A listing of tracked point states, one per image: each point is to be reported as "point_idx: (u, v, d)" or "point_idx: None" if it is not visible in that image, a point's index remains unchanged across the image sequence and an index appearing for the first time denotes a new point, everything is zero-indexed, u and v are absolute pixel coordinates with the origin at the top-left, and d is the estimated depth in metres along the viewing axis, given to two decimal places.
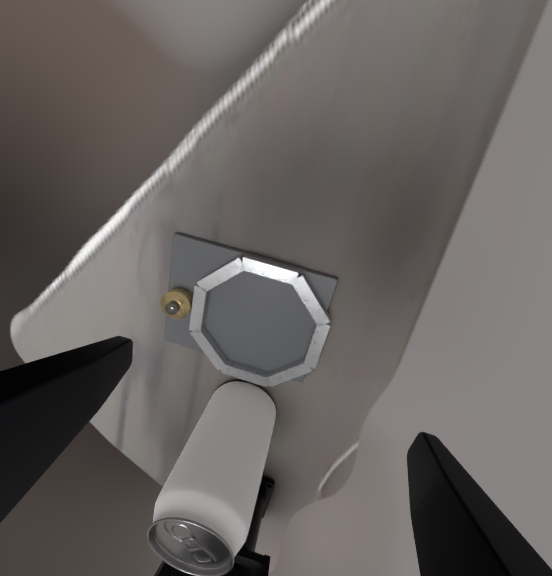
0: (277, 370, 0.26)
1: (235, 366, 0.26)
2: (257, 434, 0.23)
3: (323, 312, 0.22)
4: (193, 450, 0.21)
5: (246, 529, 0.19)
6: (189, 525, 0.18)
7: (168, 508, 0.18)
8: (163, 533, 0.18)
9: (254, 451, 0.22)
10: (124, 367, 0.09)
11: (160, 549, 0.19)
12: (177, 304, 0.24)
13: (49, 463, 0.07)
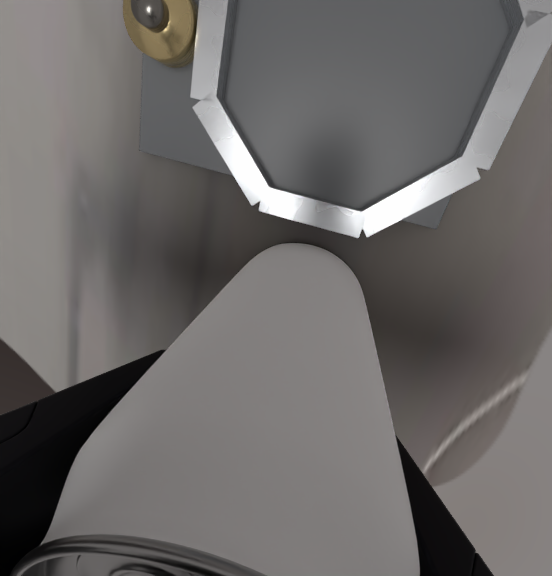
0: (385, 196, 0.12)
1: (290, 193, 0.12)
2: (361, 316, 0.09)
3: None
4: (203, 324, 0.07)
5: None
6: (193, 575, 0.04)
7: (96, 493, 0.04)
8: None
9: (368, 344, 0.08)
10: None
11: None
12: None
13: None
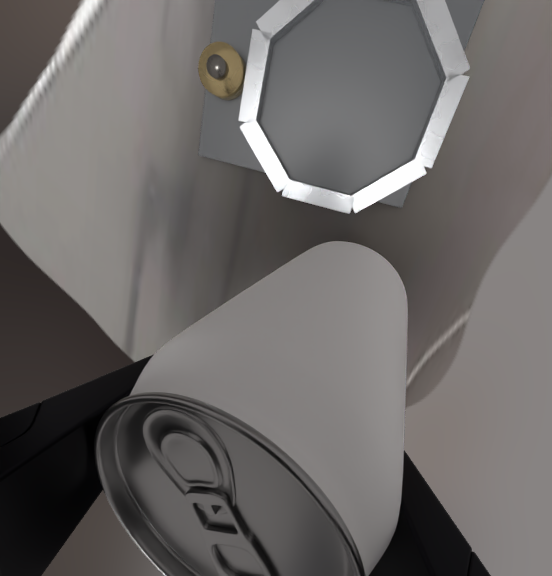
0: (367, 185, 0.17)
1: (303, 183, 0.18)
2: (396, 312, 0.10)
3: (461, 50, 0.14)
4: (254, 288, 0.08)
5: (397, 521, 0.06)
6: (220, 443, 0.05)
7: (164, 375, 0.05)
8: (140, 457, 0.06)
9: (397, 336, 0.09)
10: None
11: (129, 503, 0.07)
12: (225, 61, 0.15)
13: None
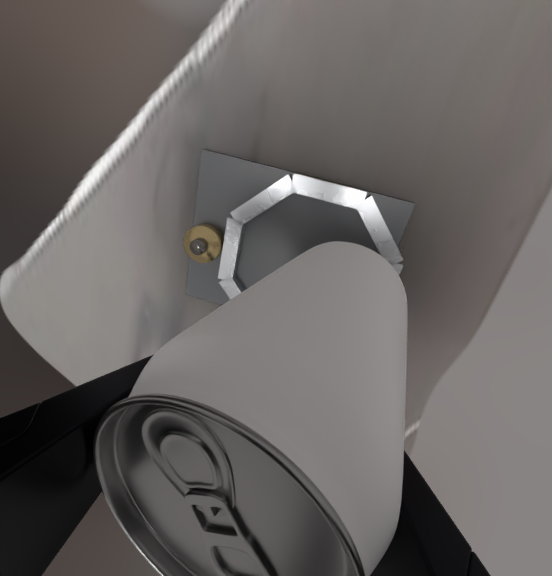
0: None
1: None
2: (396, 313, 0.10)
3: (395, 247, 0.17)
4: (254, 289, 0.08)
5: (397, 522, 0.06)
6: (219, 445, 0.05)
7: (163, 376, 0.05)
8: (139, 458, 0.06)
9: (397, 336, 0.09)
10: None
11: (129, 504, 0.07)
12: (205, 241, 0.19)
13: None
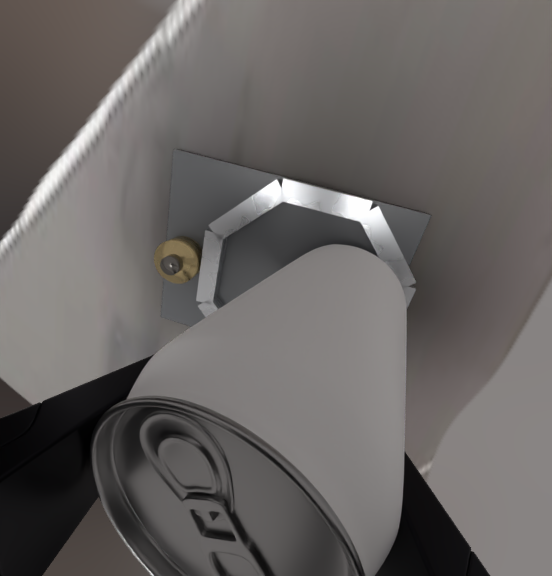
0: None
1: None
2: (396, 316, 0.10)
3: (407, 267, 0.14)
4: (253, 291, 0.08)
5: (398, 527, 0.05)
6: (219, 447, 0.05)
7: (161, 378, 0.05)
8: (136, 462, 0.06)
9: (397, 339, 0.09)
10: None
11: (126, 510, 0.07)
12: (179, 259, 0.16)
13: None
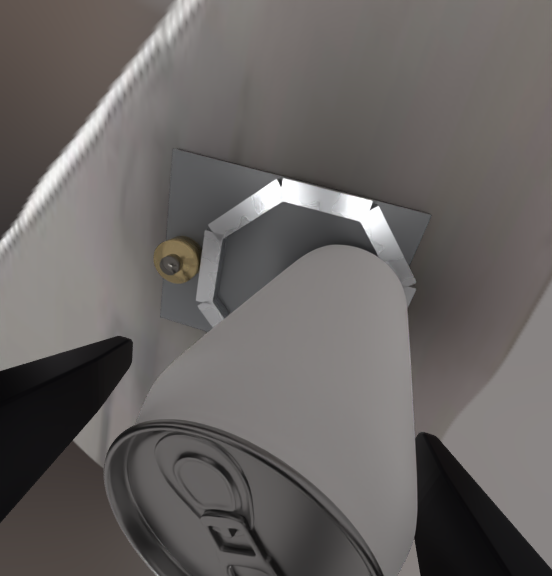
0: None
1: None
2: (400, 319, 0.10)
3: (407, 267, 0.14)
4: (260, 300, 0.08)
5: None
6: (238, 468, 0.05)
7: (177, 399, 0.05)
8: (152, 480, 0.06)
9: (402, 344, 0.09)
10: (124, 367, 0.09)
11: (140, 524, 0.07)
12: (178, 259, 0.16)
13: (49, 463, 0.07)
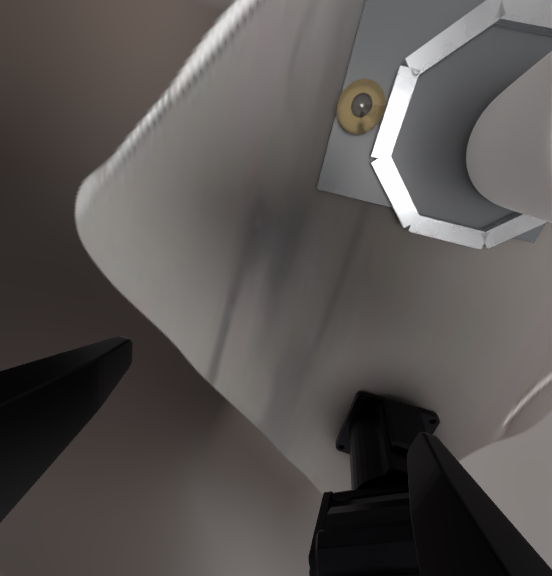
0: (501, 220, 0.17)
1: (433, 219, 0.17)
2: None
3: None
4: None
5: None
6: None
7: None
8: None
9: None
10: (124, 367, 0.09)
11: None
12: None
13: (49, 463, 0.07)
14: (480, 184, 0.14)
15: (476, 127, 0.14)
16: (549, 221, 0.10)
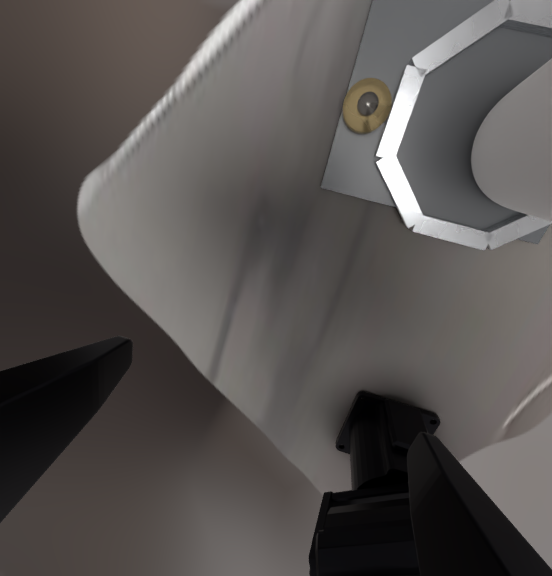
0: (505, 222, 0.17)
1: (437, 219, 0.17)
2: None
3: None
4: None
5: None
6: None
7: None
8: None
9: None
10: (124, 367, 0.09)
11: None
12: None
13: (49, 463, 0.07)
14: (485, 185, 0.14)
15: (482, 127, 0.14)
16: None
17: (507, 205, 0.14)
